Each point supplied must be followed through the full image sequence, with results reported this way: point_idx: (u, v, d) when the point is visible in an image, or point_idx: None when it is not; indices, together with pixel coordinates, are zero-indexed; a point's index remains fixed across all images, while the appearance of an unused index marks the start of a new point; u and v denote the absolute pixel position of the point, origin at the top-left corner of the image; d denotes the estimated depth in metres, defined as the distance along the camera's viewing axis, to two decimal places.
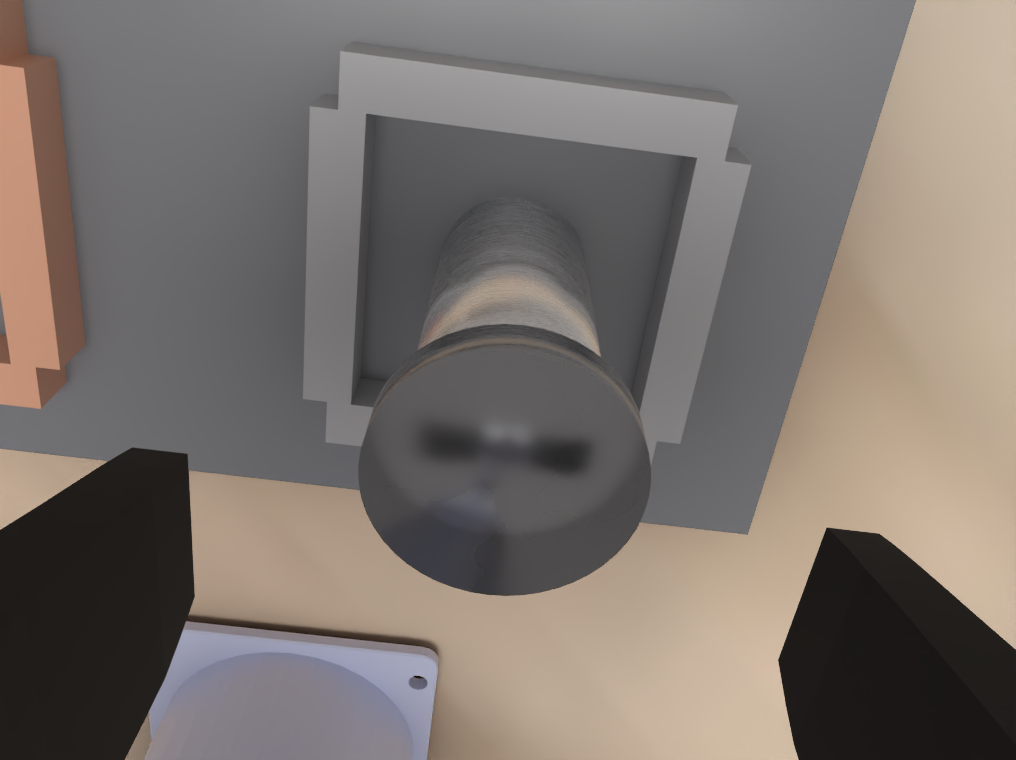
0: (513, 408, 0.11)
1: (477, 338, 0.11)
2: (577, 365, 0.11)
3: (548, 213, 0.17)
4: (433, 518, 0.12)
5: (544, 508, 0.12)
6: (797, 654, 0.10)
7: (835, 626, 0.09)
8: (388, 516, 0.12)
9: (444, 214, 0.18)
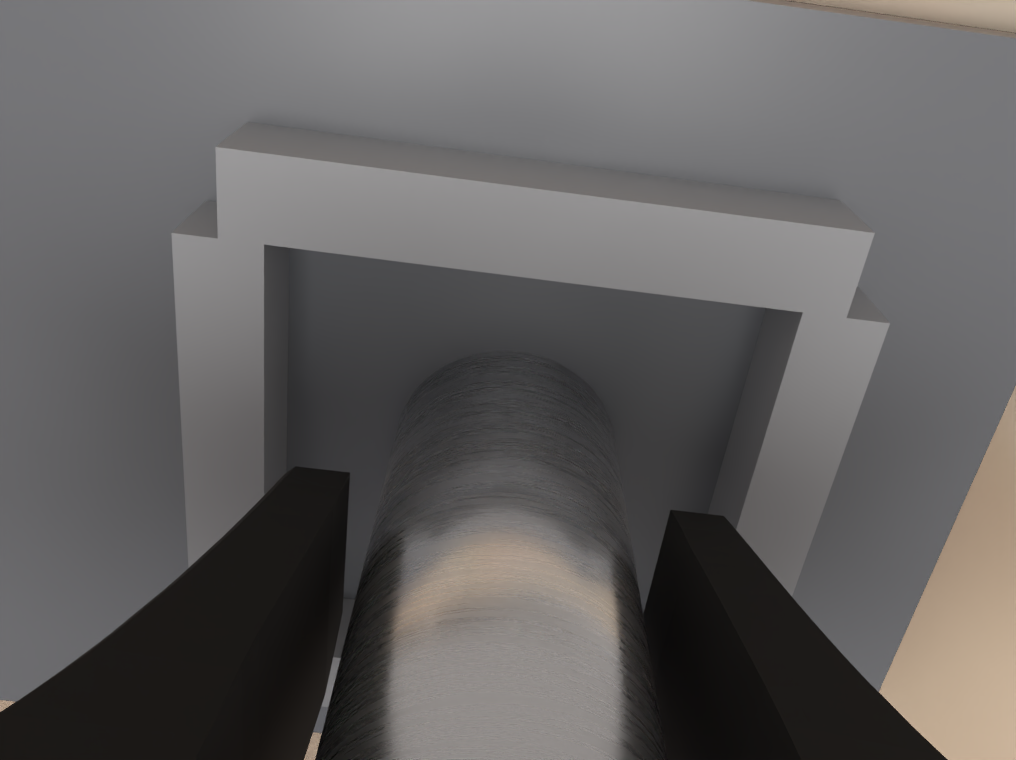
0: None
1: None
2: None
3: (560, 380, 0.11)
4: None
5: None
6: None
7: (670, 608, 0.09)
8: None
9: (401, 375, 0.12)
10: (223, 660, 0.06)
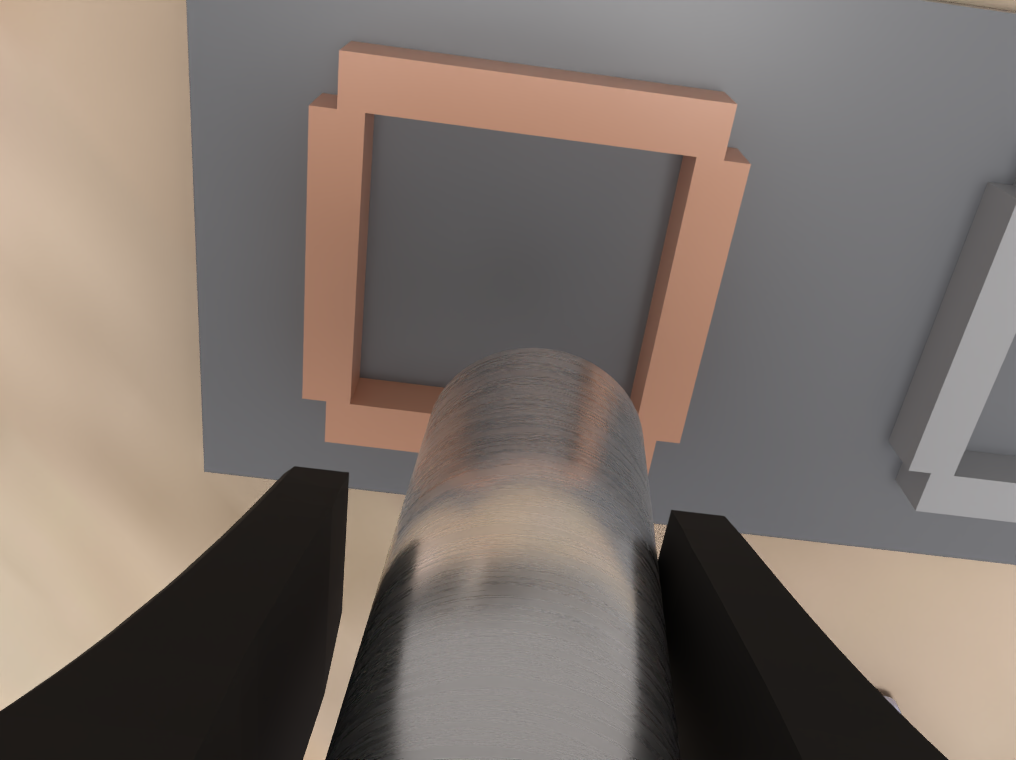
0: None
1: None
2: None
3: (589, 378, 0.11)
4: None
5: None
6: None
7: (671, 608, 0.09)
8: None
9: None
10: (222, 660, 0.06)
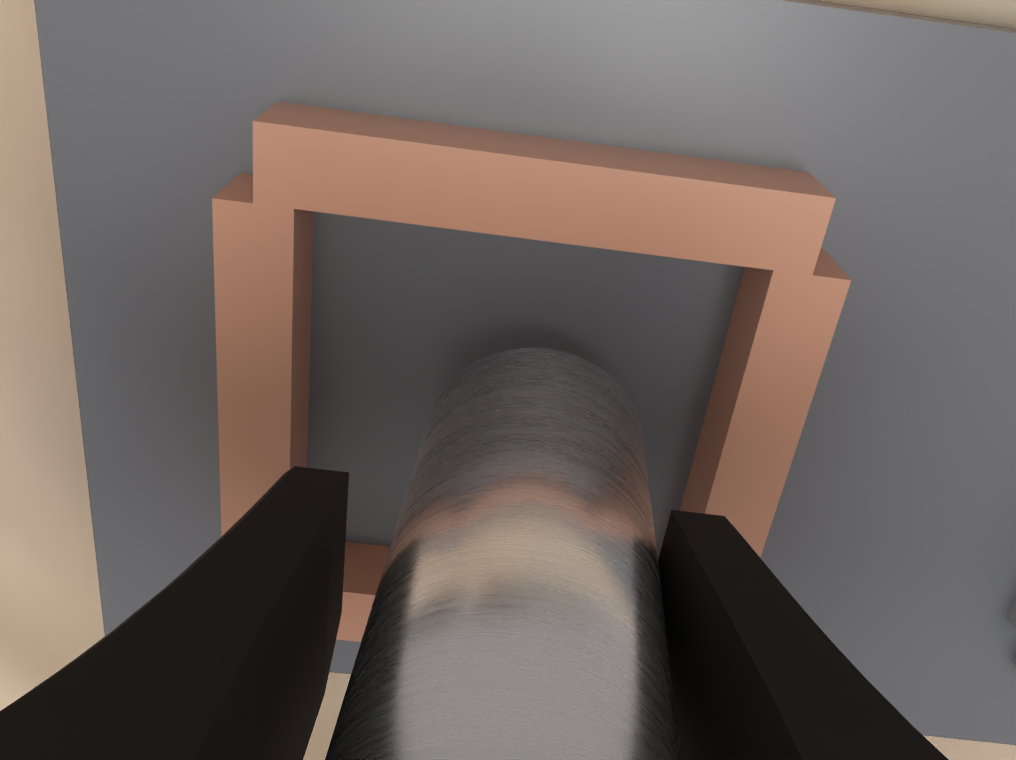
0: None
1: None
2: None
3: (589, 378, 0.11)
4: None
5: None
6: None
7: (671, 608, 0.09)
8: None
9: None
10: (222, 659, 0.06)
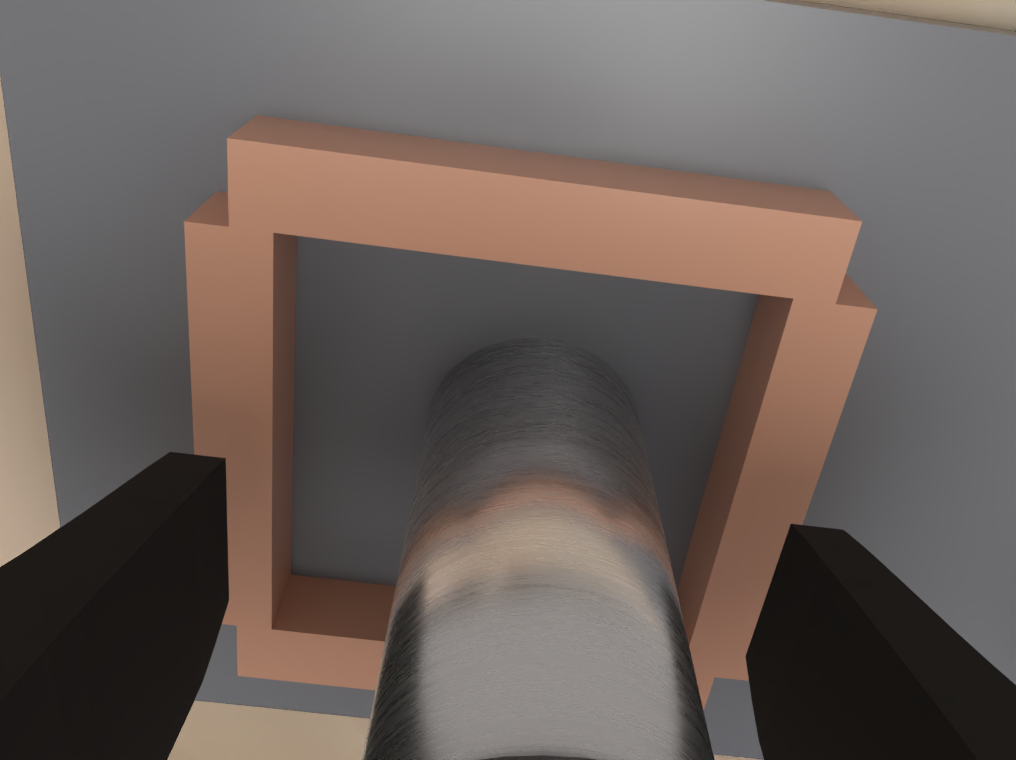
0: None
1: None
2: None
3: (588, 366, 0.12)
4: None
5: None
6: (762, 650, 0.10)
7: (797, 622, 0.09)
8: None
9: None
10: (32, 640, 0.06)
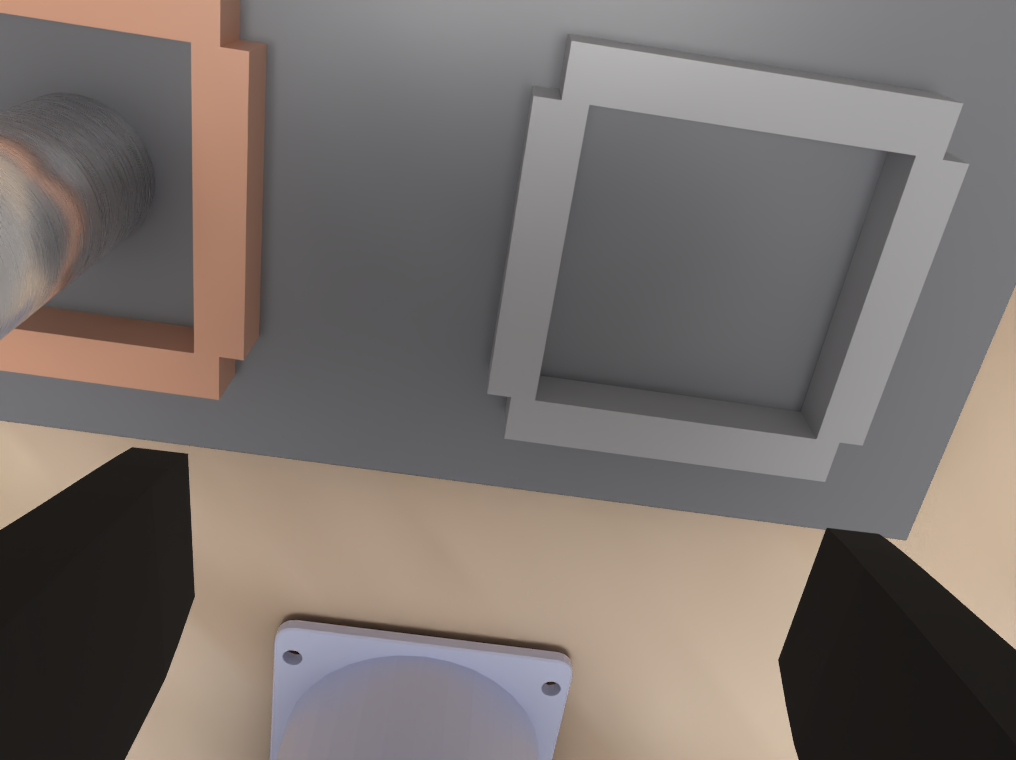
0: None
1: None
2: None
3: (91, 107, 0.17)
4: None
5: None
6: (797, 654, 0.10)
7: (835, 626, 0.09)
8: None
9: (640, 209, 0.18)
10: None
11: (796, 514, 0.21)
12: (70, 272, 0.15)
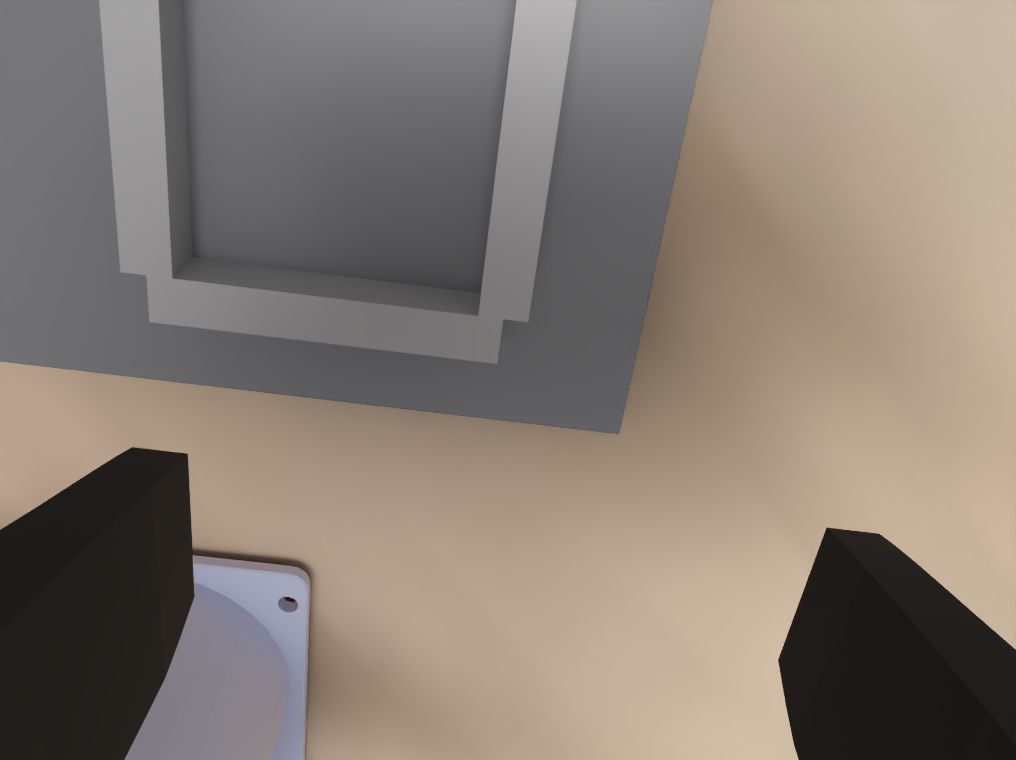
0: None
1: None
2: None
3: None
4: None
5: None
6: (797, 654, 0.10)
7: (835, 626, 0.09)
8: None
9: (265, 68, 0.17)
10: None
11: (498, 407, 0.20)
12: None
